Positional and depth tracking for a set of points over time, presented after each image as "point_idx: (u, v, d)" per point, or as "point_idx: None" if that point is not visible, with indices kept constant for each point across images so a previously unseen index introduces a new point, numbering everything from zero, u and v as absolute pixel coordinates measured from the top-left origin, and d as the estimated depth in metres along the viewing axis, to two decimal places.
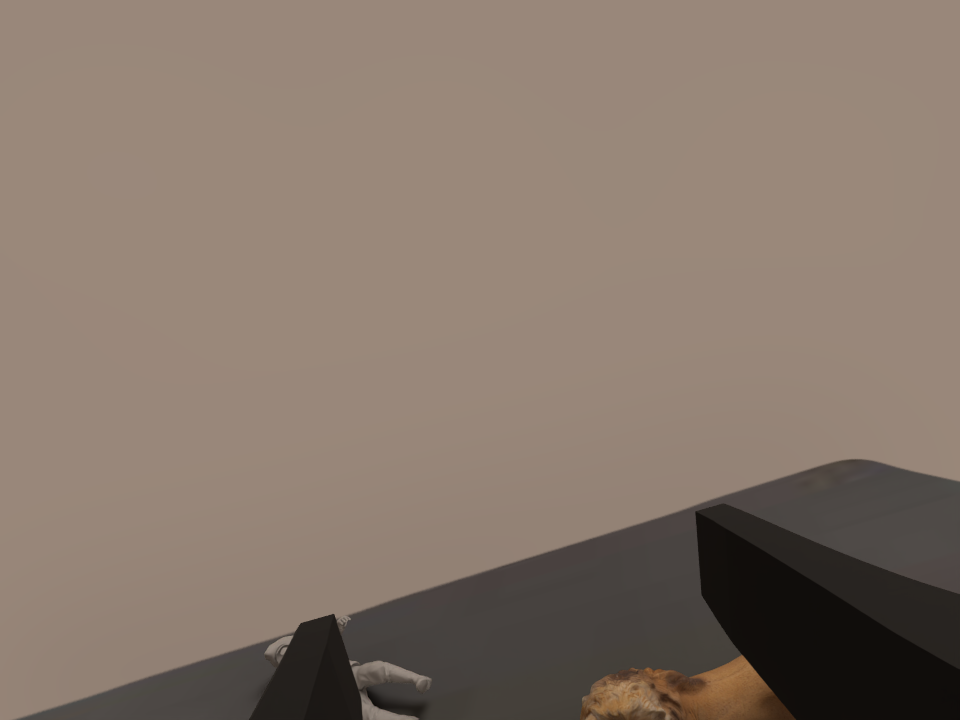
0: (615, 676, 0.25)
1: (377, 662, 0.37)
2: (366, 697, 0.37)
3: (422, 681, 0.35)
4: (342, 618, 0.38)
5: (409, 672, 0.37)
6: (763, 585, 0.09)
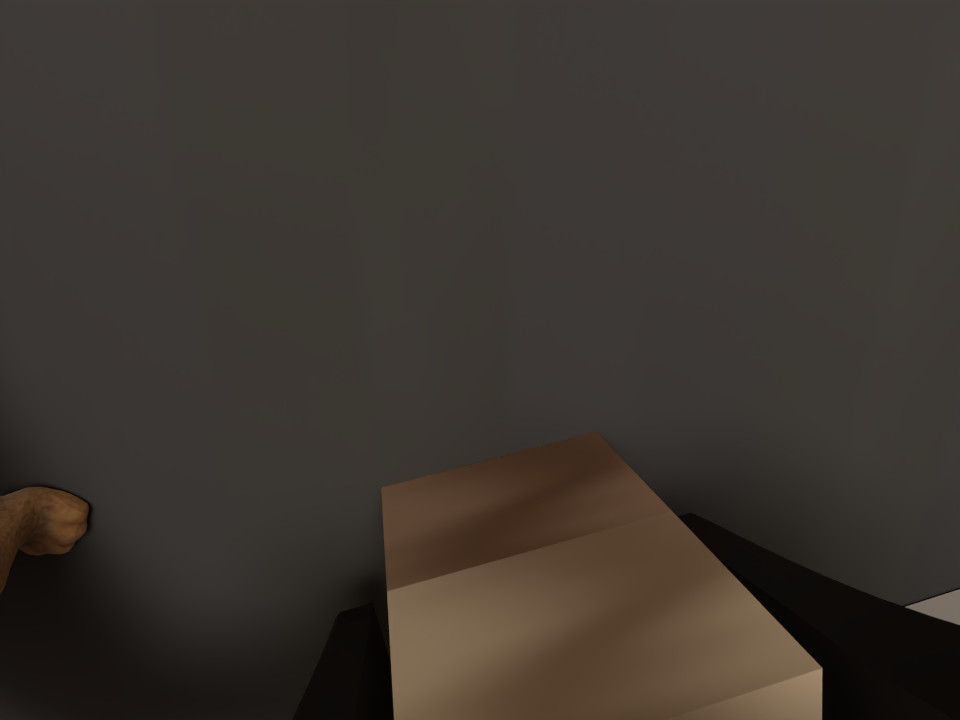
0: None
1: None
2: None
3: None
4: None
5: None
6: None
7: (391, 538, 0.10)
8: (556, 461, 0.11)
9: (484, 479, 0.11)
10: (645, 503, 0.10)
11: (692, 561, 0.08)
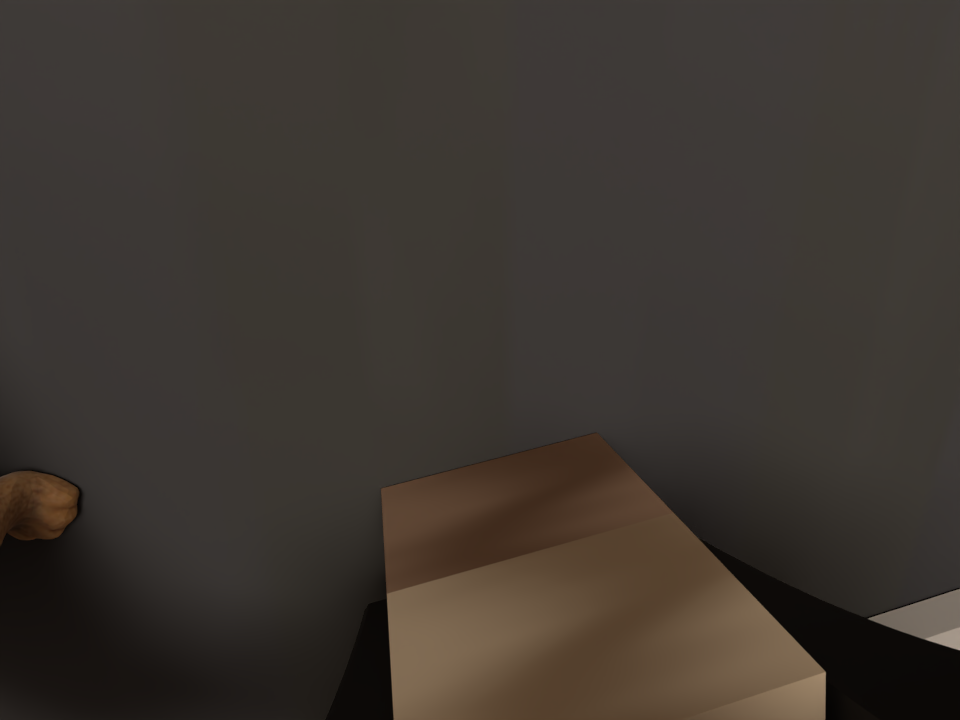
0: None
1: None
2: None
3: None
4: None
5: None
6: None
7: (391, 539, 0.10)
8: (557, 462, 0.11)
9: (484, 480, 0.11)
10: (646, 505, 0.09)
11: (694, 564, 0.08)
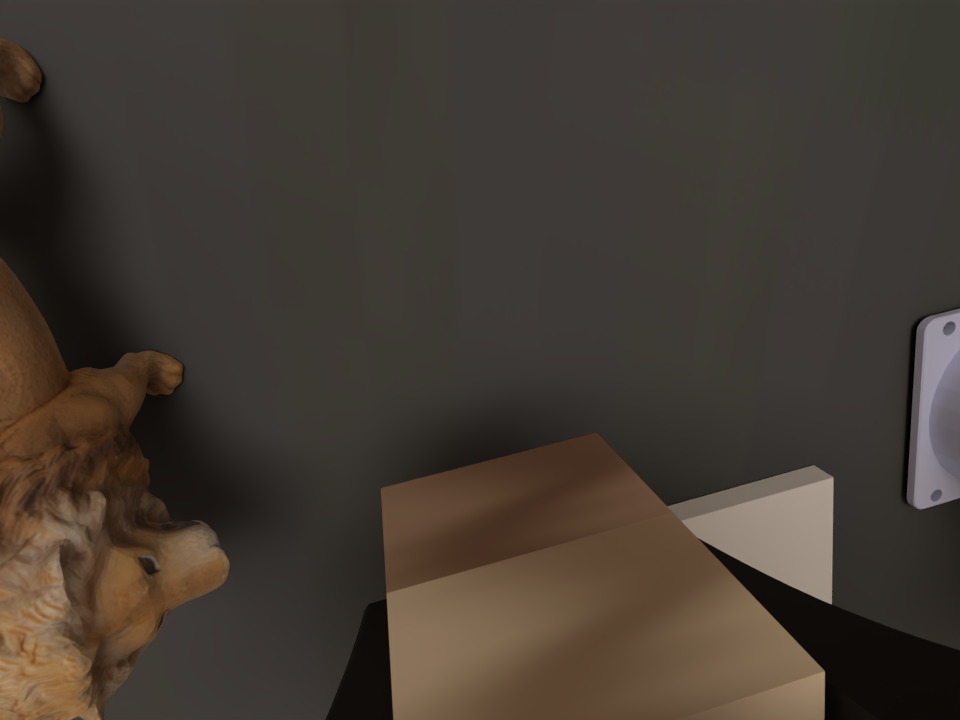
0: None
1: None
2: None
3: None
4: None
5: None
6: None
7: (392, 538, 0.10)
8: (556, 462, 0.11)
9: (484, 480, 0.11)
10: (646, 504, 0.09)
11: (693, 563, 0.08)
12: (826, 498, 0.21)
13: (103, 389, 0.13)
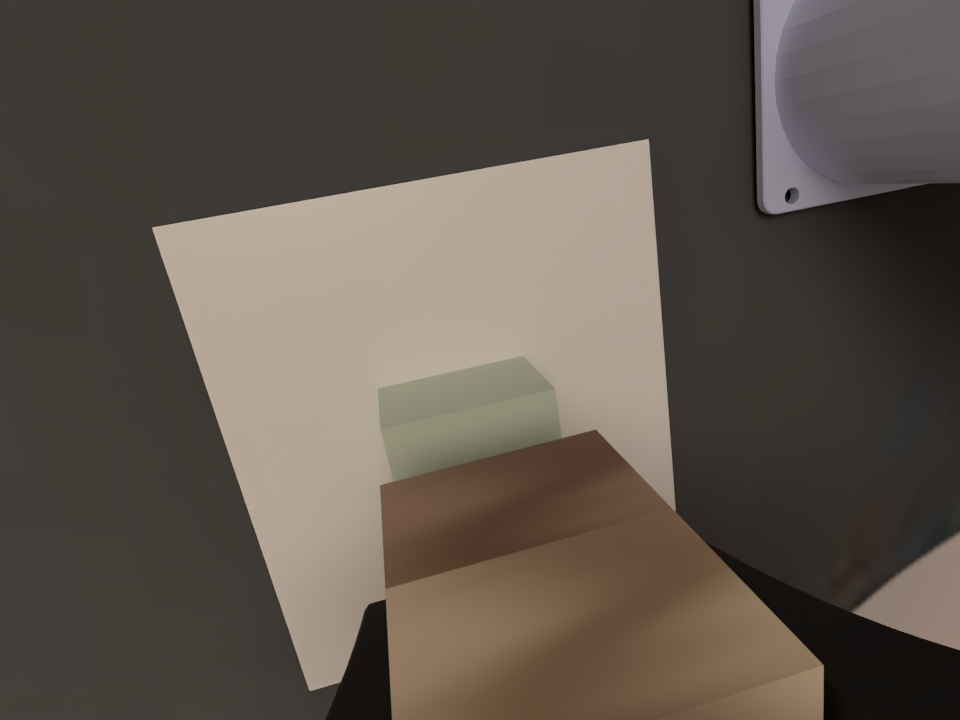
0: None
1: None
2: None
3: None
4: None
5: None
6: None
7: (390, 535, 0.10)
8: (555, 458, 0.11)
9: (483, 477, 0.11)
10: (645, 500, 0.09)
11: (692, 559, 0.08)
12: (641, 169, 0.17)
13: None
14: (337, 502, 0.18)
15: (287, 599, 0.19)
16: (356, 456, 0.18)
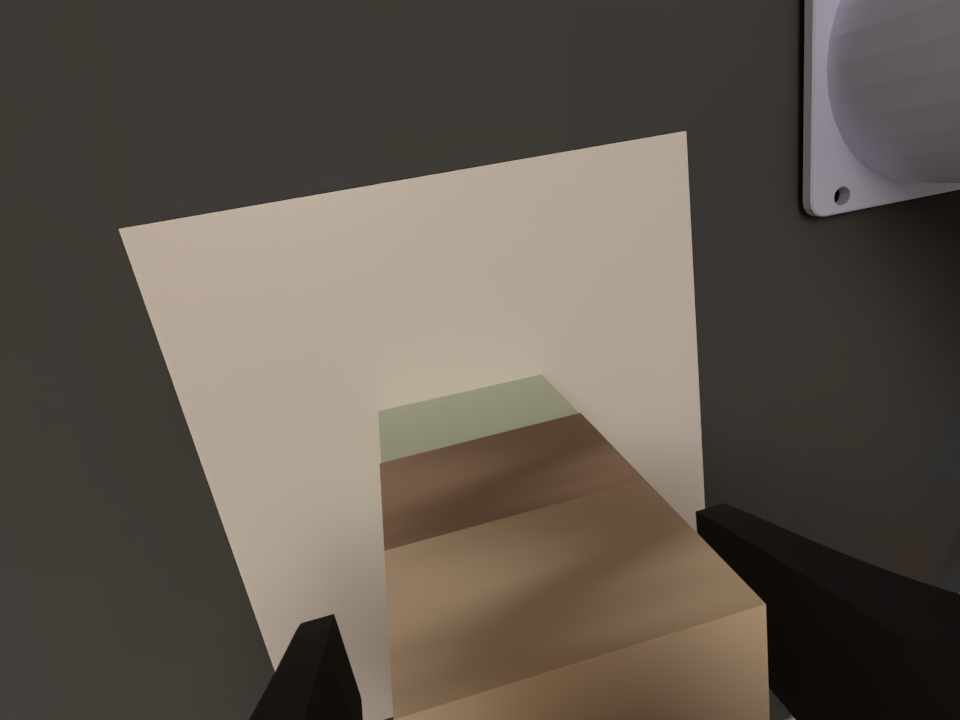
0: None
1: None
2: None
3: None
4: None
5: None
6: (763, 585, 0.09)
7: (389, 506, 0.11)
8: (542, 438, 0.12)
9: (475, 455, 0.12)
10: (621, 473, 0.10)
11: (660, 521, 0.09)
12: (677, 165, 0.15)
13: None
14: (332, 538, 0.16)
15: (275, 645, 0.17)
16: (353, 487, 0.16)
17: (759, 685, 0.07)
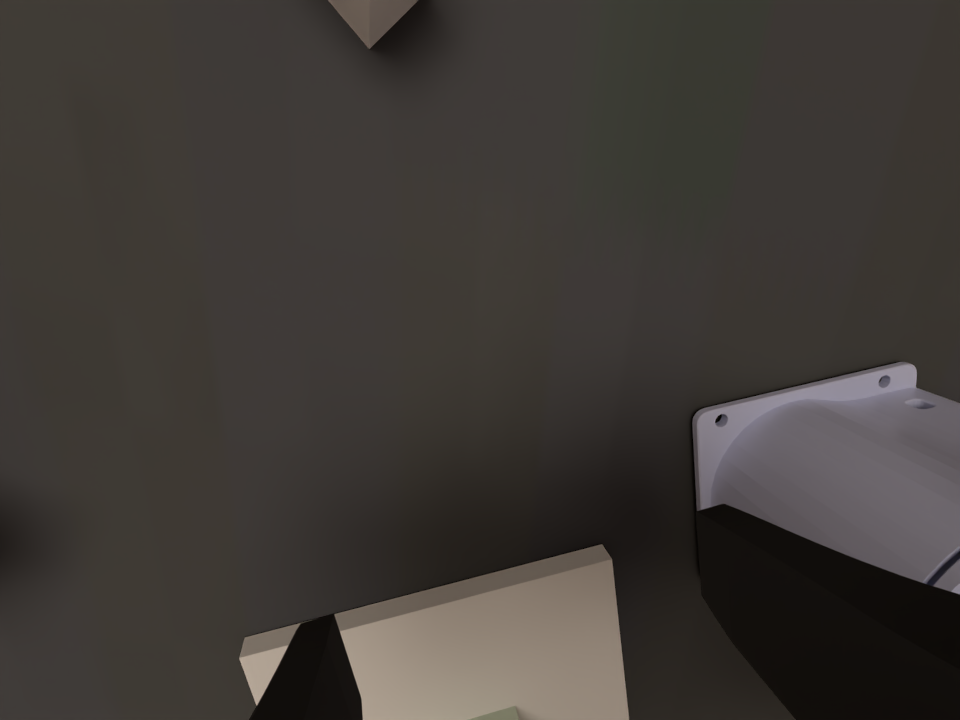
0: None
1: None
2: None
3: None
4: None
5: None
6: (763, 584, 0.09)
7: None
8: None
9: None
10: None
11: None
12: (607, 578, 0.22)
13: None
14: None
15: None
16: None
17: None
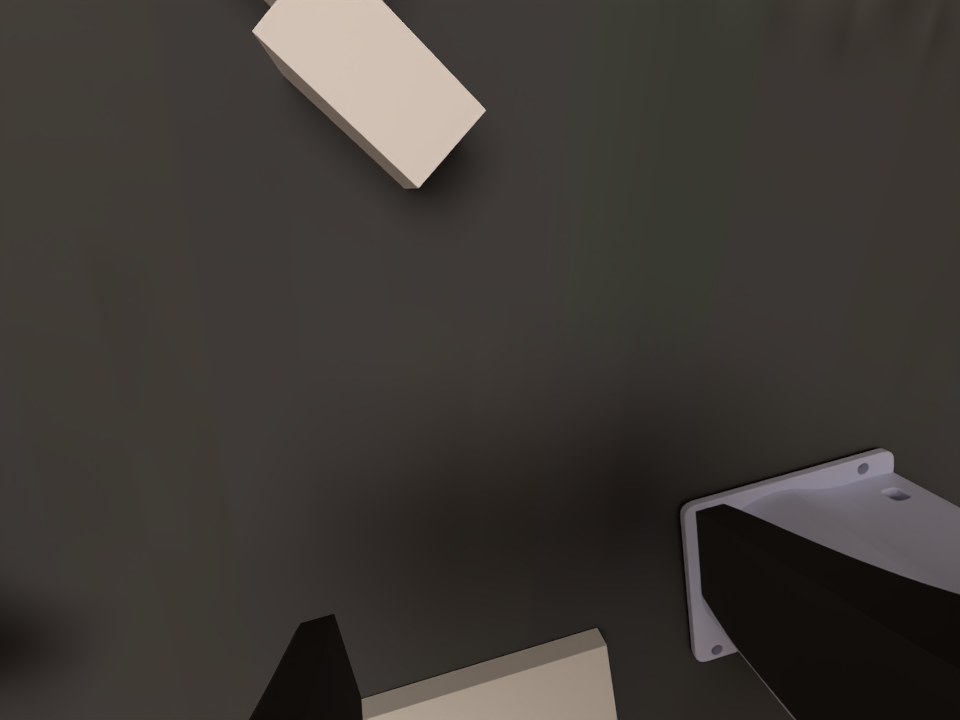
0: None
1: None
2: None
3: None
4: None
5: None
6: (762, 584, 0.09)
7: None
8: None
9: None
10: None
11: None
12: (602, 662, 0.24)
13: None
14: None
15: None
16: None
17: None
